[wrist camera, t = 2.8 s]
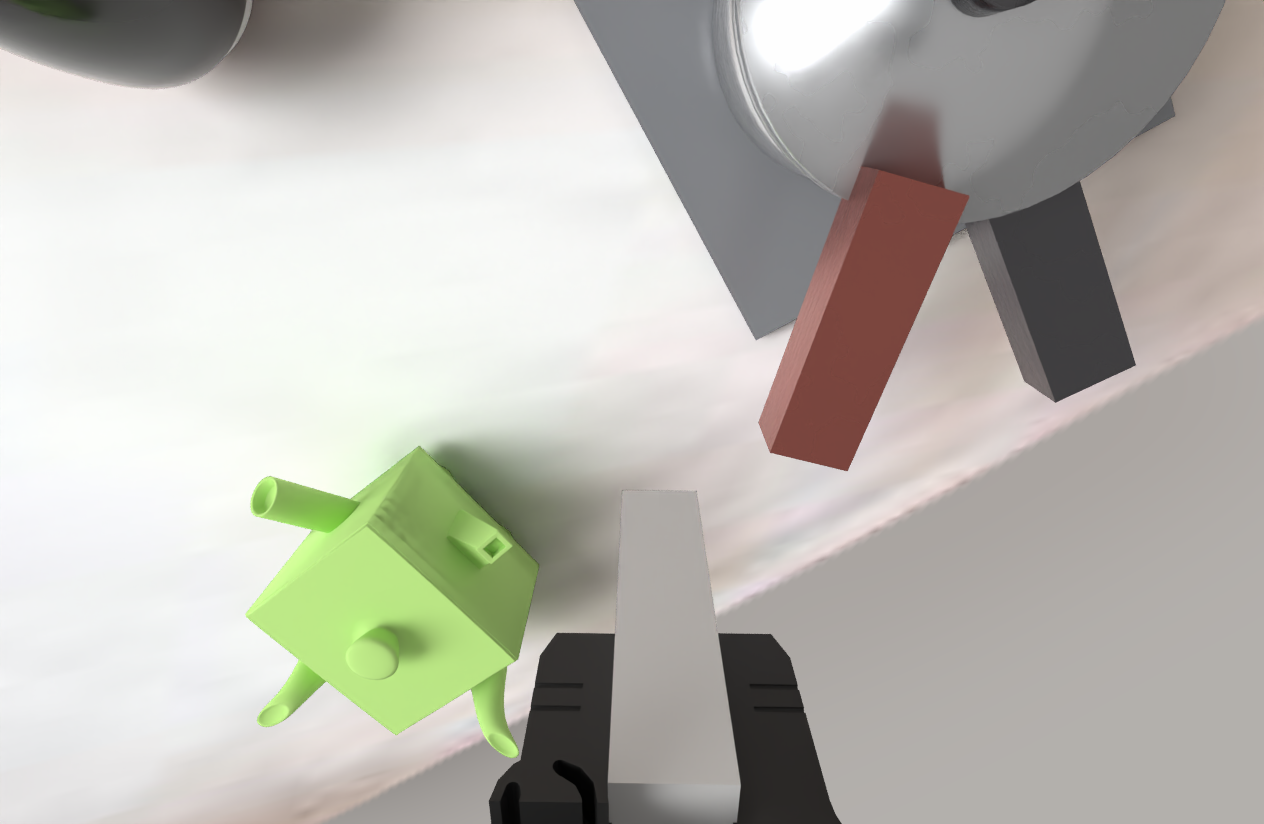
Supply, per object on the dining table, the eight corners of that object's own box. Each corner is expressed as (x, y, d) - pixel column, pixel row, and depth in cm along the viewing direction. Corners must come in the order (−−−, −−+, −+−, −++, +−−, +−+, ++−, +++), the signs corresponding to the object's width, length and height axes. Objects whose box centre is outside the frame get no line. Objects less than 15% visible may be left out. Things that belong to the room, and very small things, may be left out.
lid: (835, -426, 17) (875, -536, 14) (1327, -244, 19) (1456, -311, 16) (617, 384, 26) (614, 417, 24) (957, 467, 28) (995, 509, 25)
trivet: (1021, -439, 25) (1035, -460, 24) (1160, 115, 32) (1175, 115, 32) (533, -76, 30) (529, -83, 29) (753, 334, 37) (755, 340, 36)
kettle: (542, 633, 46) (513, 781, 36) (336, 616, 46) (247, 761, 36) (551, 439, 40) (519, 550, 30) (313, 418, 40) (198, 524, 29)
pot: (646, -47, 29) (649, -122, 20) (970, -273, 26) (1148, -484, 17) (855, 382, 37) (925, 469, 28) (1122, 248, 34) (1299, 296, 25)
